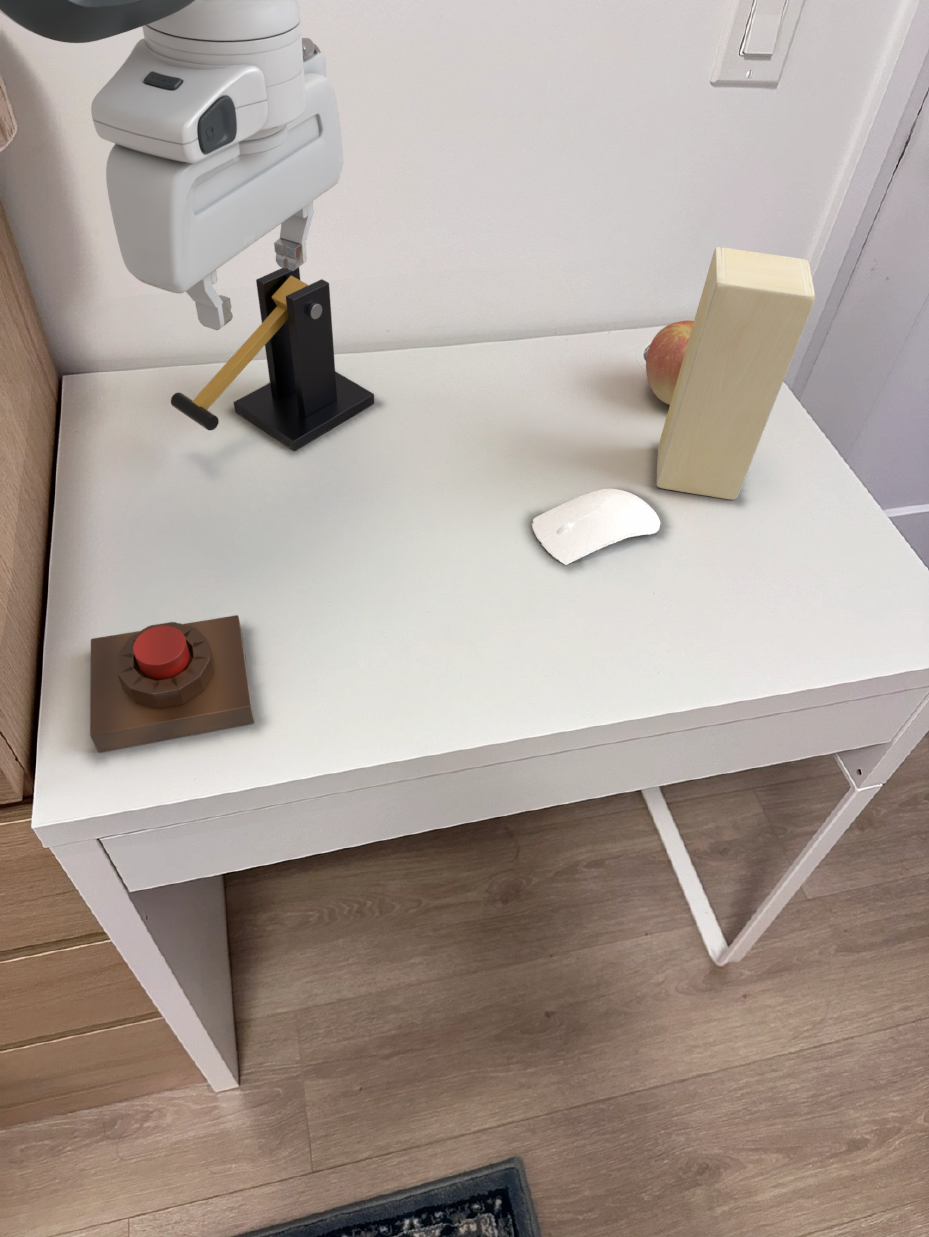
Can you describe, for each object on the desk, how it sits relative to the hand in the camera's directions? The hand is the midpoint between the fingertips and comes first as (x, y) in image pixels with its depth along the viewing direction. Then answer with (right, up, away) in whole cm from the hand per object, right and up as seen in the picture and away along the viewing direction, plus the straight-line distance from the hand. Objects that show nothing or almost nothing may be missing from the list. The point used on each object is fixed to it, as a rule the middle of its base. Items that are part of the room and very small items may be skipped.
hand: (255, 293), depth 62 cm
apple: (+38, +1, +33) cm, 50 cm away
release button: (-7, -26, +1) cm, 27 cm away
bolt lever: (-5, +1, +19) cm, 19 cm away
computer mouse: (+27, -15, +18) cm, 36 cm away
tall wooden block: (+38, -9, +25) cm, 46 cm away
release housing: (-7, -29, +4) cm, 30 cm away
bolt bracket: (-2, -1, +28) cm, 28 cm away
